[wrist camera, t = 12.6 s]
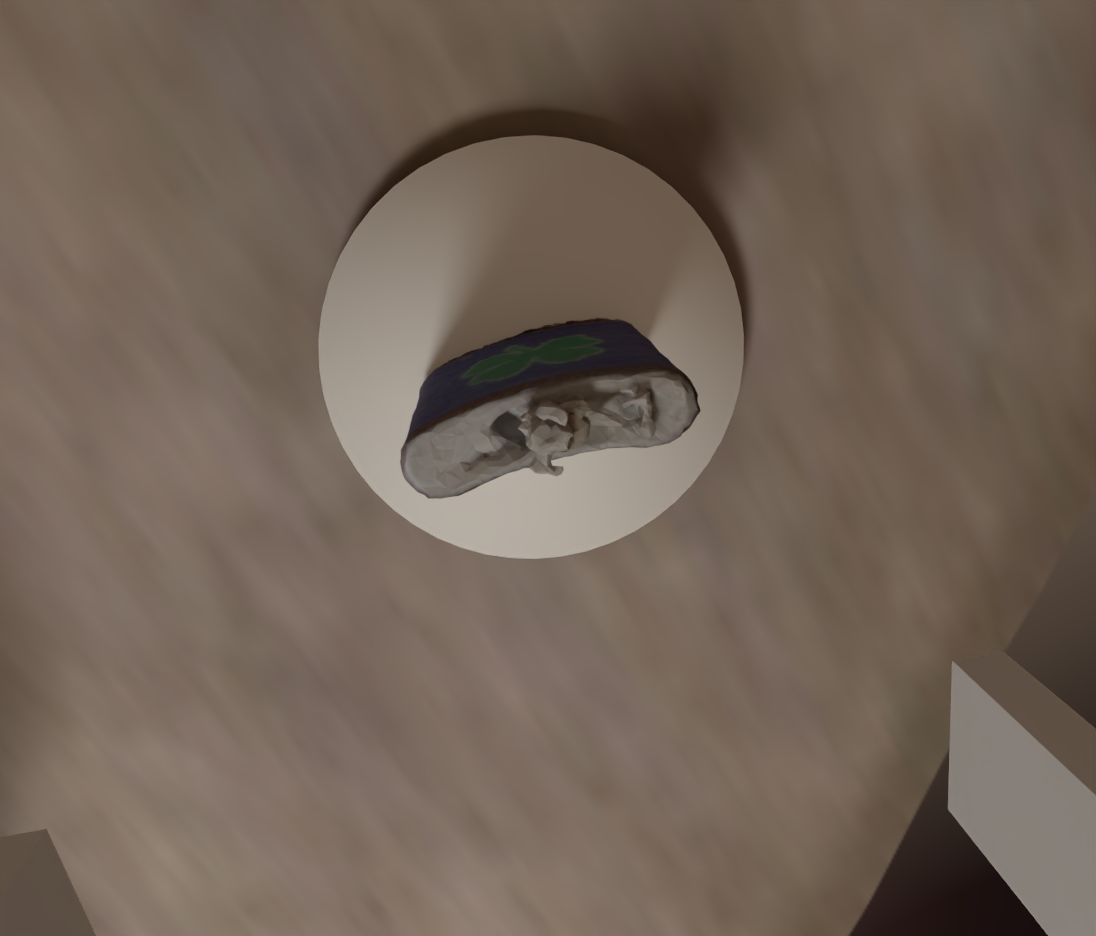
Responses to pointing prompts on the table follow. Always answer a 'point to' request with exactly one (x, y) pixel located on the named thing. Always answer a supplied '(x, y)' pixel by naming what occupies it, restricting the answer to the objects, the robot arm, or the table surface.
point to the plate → (527, 327)
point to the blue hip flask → (543, 405)
